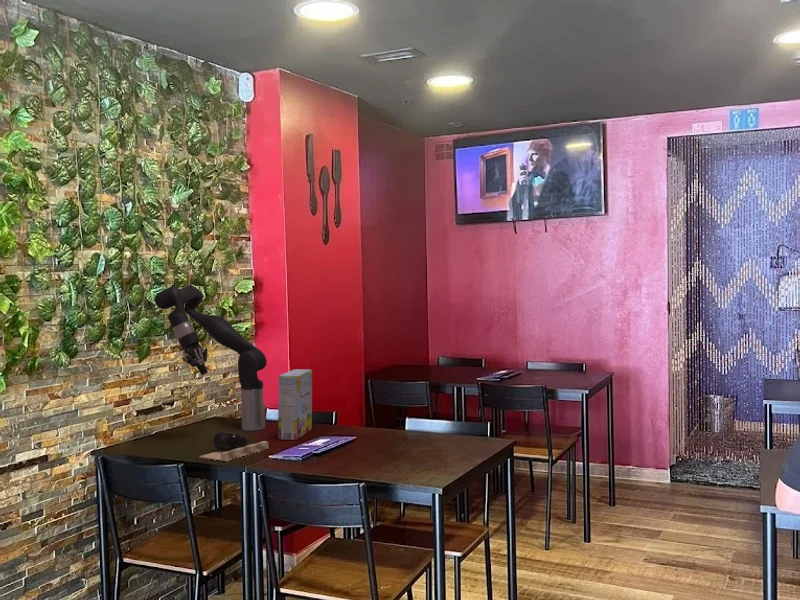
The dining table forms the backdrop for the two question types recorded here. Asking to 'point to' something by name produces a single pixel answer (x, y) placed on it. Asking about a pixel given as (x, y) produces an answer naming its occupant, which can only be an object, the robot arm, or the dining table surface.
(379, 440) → the dining table surface
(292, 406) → the snack box
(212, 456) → the cork mat
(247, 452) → the rail
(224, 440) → the supplement bottle
